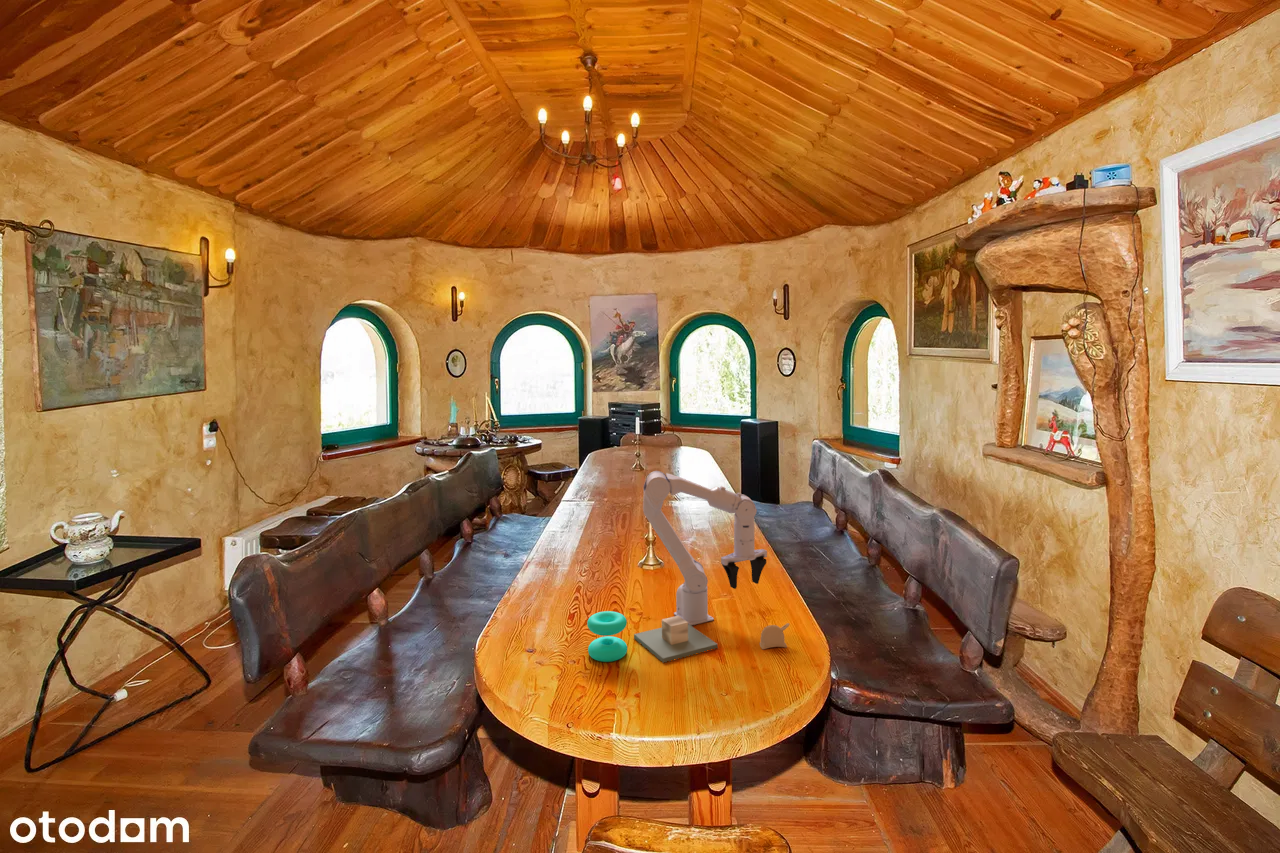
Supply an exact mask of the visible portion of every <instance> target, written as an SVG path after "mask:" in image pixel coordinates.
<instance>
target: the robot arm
mask: <svg viewBox="0 0 1280 853" xmlns="http://www.w3.org/2000/svg"><path fill="white" fill-rule="evenodd" d="M642 493H643V498H642V499H643V500H642V510H643V515H644V516H645V518H646V519H647V521H648V522H649V524H650V526H651V527H652V529H653V530H654V531H655V533H656V534H657V536H658V538H659V539H660V540H661V542H662V544H663V545H664V546H665V548H666V550H667V551H668V553H669V554H670V556H671V558H672V559H673V561H674V562H675V563H676V565H677V567H678V569H679V571H680V573H681V575H682V576H683V579H684V582H683V583H682V584H680V585H679V586H678V588H677V590H676V594H675V597H676V598H675V599H676V605H675V606H676V611H675V612H673V615H674V616H679V617H681V618H682V619H684V620H685V621H687V622H688V624H689V625H691V626H695V625H698V624H703V623H707V622H712V621H714V617H713V616H711V615H710V614H708V608H709V607H708V605H709V604H708V601H709V600H708V583H709V581H708V577H707V575H706V573H705V569H704V567H703V565H702V564H701V562H699V561H697V560H696V559H695V558H694V557H693V555H691V553H690V552H689V550H688V549H687V548H686V546H685V545H684V542H683V541H682V540H681V538H680V537H679V535H678V534H677V531H675V529H674V527H673V526H672V524H671V523H670V521H669V520H668V519H667V516H666V515H665V514H664V512H663V511H662V508H663V504H664V501H665V500H666V499H667V497H668V496H669V494H670V496H674V495H677V494H679V493H683V494H686V495H689V496H692V497H695V498H699V499H702V500H705V501H707V503H708V505H709V506H710V507H712V508H715V509H717V510H720V511H724V512H726V513H729V514H734V522H733V543H734V544H733V552H732V553H730V554H727V555H723V556H720V564H721V566H722V567H723V569H724V571H725V574H726V575H727V576H726V577H727V578H728V582H729V587H730V588H731V589H733V590H734V589H737V586H738V574H739V570H740V567H739V566H737V565H736V563H739V562H745V561H749V562H750V567H751V568H750V569H751V582H752V583H754V584H755V585H756V584H757V585H758V584H759V582H760V579H761V576H762V575H761V574H762V572H763V571H764V570H763V569H764V568H765V566H766V564H767V559H766V558H767V557H768V551H767V549H764V548H761V549H759V548H758V549H755V516H756V515H757V511H758V510H757V507H756V505H755V503H754V501H753V500H752V499H751V498H750V497H749V496H747V495H746V494H742V493H741V492H737V493H735V492H733V491H729V490H727V489H726V487H725V486H722V485H721V486H720V487H718V486H714V487H712V488H708V487H706V486H703V485H700V484H697V483H695V482H693V481H691V480H687V479H686V478H683V477H682V476H681V477H680V476H677V475H675V474H671V473H668V472H666V473H665V472H663V471H661V470H660V471H659V470H654V471H652V472H650V473H649V474H648V475H647V476H646V478H645V481H644V484H643V492H642Z"/></svg>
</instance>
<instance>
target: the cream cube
mask: <svg viewBox="0 0 1280 853" xmlns="http://www.w3.org/2000/svg"><path fill="white" fill-rule="evenodd" d="M661 628H662V638H663V639H664V640H666V641H667V642H668V643H670V644H671V645H673V644H677V643H681V642H685V641H688V622H687V621H685V620H684V619H682V618H681V617H679V616H676V615H674V616H670V617H668V618H667V617H666V618H662V619H661Z"/></svg>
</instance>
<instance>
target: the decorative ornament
mask: <svg viewBox="0 0 1280 853" xmlns="http://www.w3.org/2000/svg"><path fill="white" fill-rule="evenodd" d="M789 626H790V623H787V622H786V623H785V624H784V625H782V626H781V627H780V626H778V625H776V624H772V625H769V624H768V625H766V626H765V627H764V628H763V630H761V633H760V642H759V647H760V649H761V650H766V649H769V648H776V647H779V648H788V645H787V643H786V642H785V633H784V631H785V630H786V629H788V627H789Z"/></svg>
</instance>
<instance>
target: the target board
mask: <svg viewBox="0 0 1280 853" xmlns="http://www.w3.org/2000/svg"><path fill="white" fill-rule="evenodd" d="M633 639H634V640H636V641H637V642H638V643H639V644H640V643H641V644H642V645H641V644H640V645H641V646H643V647H644V648H645V649H646V648H647V649H648V650H649V651H648V650H647V649H646V650H647V651H648V652H650V653H651V654H652V655H653V654H654V655H655V656H654V655H653V656H654V657H655V658H656V659H658V660H659V661H660V662H661V661H662V664H664V662H665V663H668V662H667V661H669V662H672V661H671V660H673V661H675V660H674V659H676V660H679V659H678V658H680V659H683V658H682V657H684V658H686V656H688V657H690V656H689V655H691V656H694V655H693V654H695V655H697V654H696V653H699V654H701V653H700V652H703V653H705V652H704V651H706V652H708V651H707V650H710V651H712V650H711V649H714V650H716V649H715V648H717V649H718V648H719V647H718V643H717V642H715V641H714V640H712V639H711V638H710V637H708V636H707V635H705V634H704V633H702V632H701V631H699V630H698V629H697V628H695V627H694V626H693V625H689V624H688V641H685V642H681V643H677V644H673V645H671V644H670V643H668V642H667V641H666V640H664V639H663V638H662V627H658V628H653V629H649V630H646V631H642V632H638V633H633Z"/></svg>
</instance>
